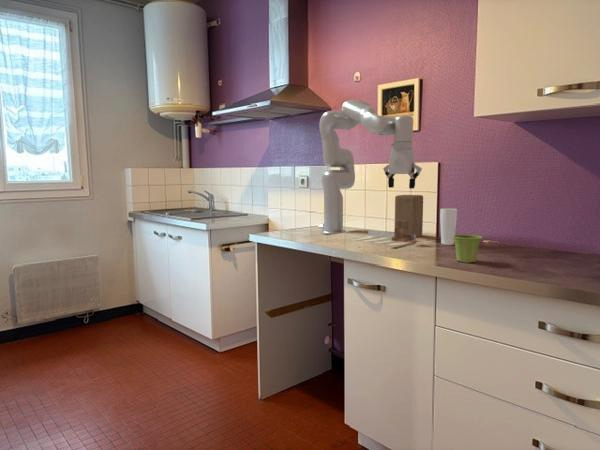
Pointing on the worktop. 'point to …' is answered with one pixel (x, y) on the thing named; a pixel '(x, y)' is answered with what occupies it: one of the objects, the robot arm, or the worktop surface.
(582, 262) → the worktop surface
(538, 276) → the worktop surface
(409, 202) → the wooden block
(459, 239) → the plant pot
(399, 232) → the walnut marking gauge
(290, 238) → the worktop surface
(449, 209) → the drinking glass
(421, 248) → the worktop surface
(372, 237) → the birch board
